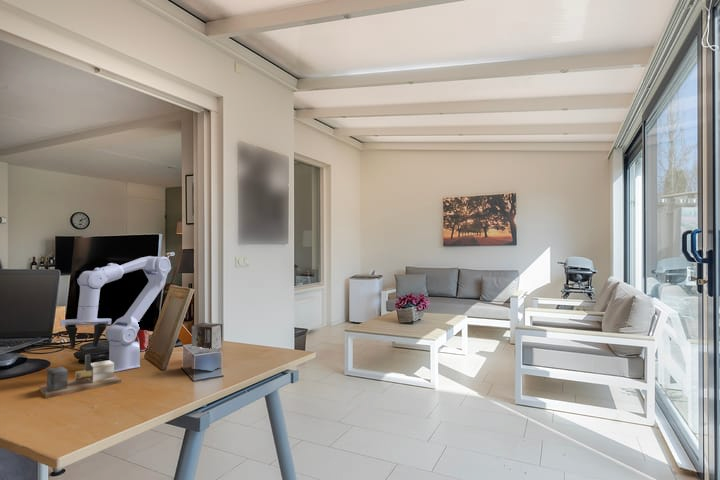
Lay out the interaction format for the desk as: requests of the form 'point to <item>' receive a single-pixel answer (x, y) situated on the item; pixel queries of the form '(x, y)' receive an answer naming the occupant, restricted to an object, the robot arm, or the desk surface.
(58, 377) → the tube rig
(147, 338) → the soda can
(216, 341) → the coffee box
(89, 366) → the slip tube
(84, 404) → the desk surface
